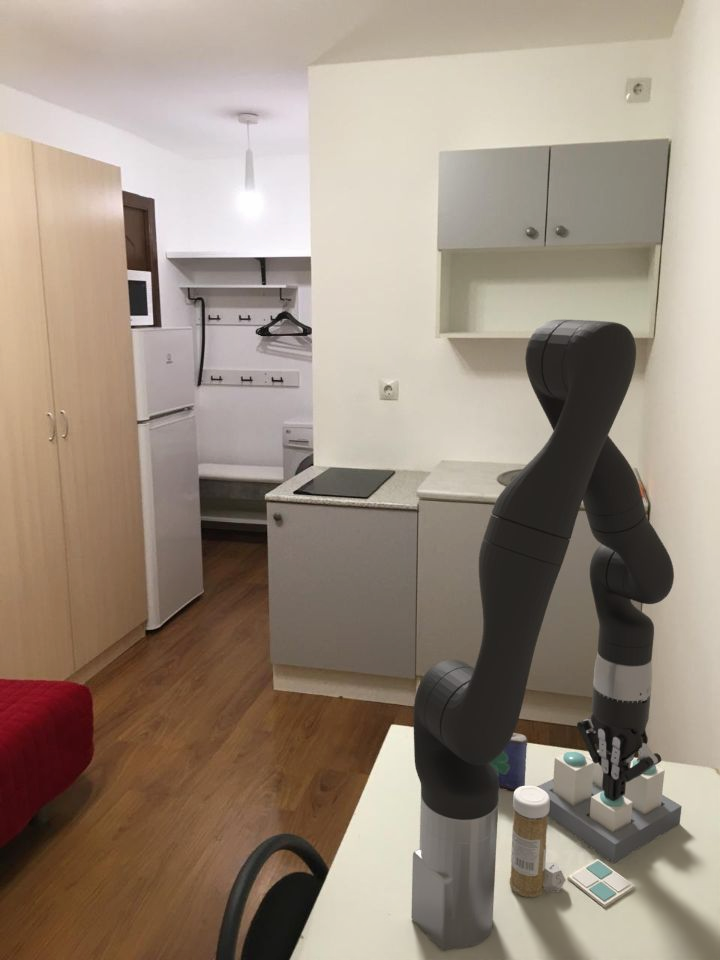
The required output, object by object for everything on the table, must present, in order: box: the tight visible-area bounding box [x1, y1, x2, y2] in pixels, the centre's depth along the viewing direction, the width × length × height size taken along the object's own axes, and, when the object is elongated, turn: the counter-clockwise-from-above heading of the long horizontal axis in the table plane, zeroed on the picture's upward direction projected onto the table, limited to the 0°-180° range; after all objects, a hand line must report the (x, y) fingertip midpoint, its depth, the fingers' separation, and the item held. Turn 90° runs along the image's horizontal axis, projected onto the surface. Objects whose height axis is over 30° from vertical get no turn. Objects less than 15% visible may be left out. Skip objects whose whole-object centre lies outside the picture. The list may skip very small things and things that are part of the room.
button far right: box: [624, 758, 665, 815], centre depth 112 cm, size 4×4×6 cm
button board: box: [536, 778, 682, 864], centre depth 114 cm, size 15×15×3 cm
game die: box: [543, 861, 566, 894], centre depth 99 cm, size 4×4×3 cm
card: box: [567, 858, 635, 908], centre depth 100 cm, size 6×6×1 cm
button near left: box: [552, 749, 594, 807], centre depth 114 cm, size 4×4×6 cm
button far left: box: [584, 750, 603, 789], centre depth 118 cm, size 4×4×6 cm
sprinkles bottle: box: [509, 785, 550, 898], centre depth 98 cm, size 5×5×14 cm
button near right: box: [590, 791, 633, 833], centre depth 109 cm, size 4×4×6 cm
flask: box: [490, 732, 528, 793], centre depth 121 cm, size 9×3×11 cm, turn 61°
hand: (613, 796), depth 108 cm, fingers closed
